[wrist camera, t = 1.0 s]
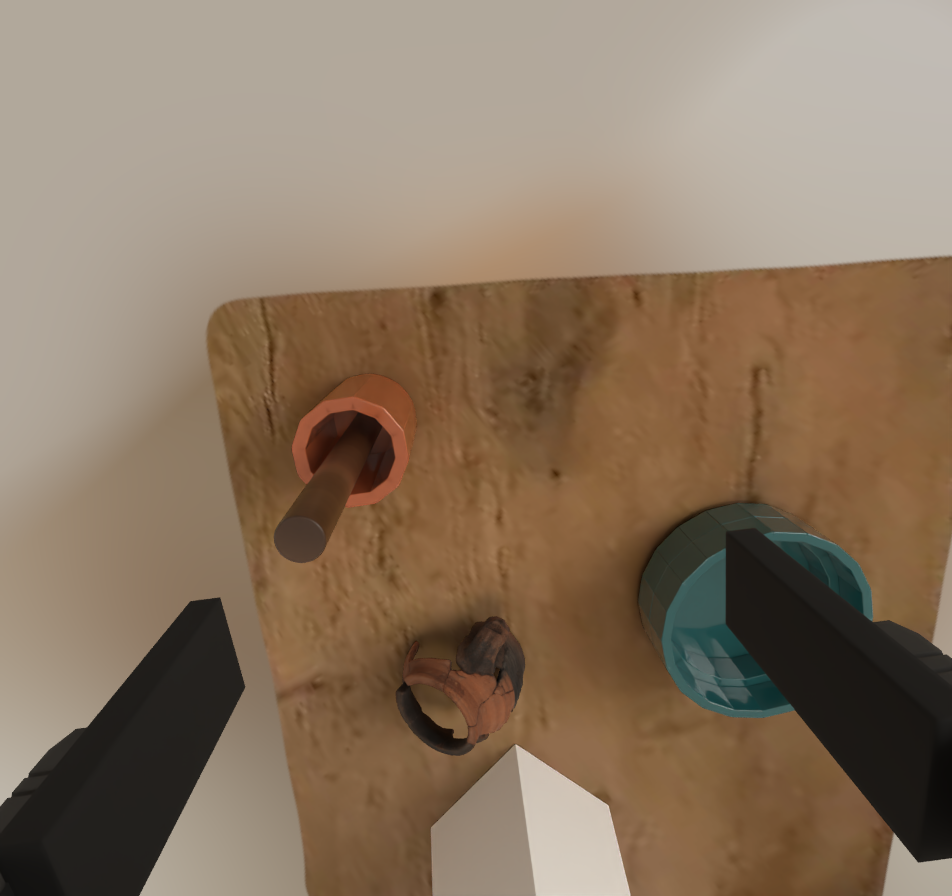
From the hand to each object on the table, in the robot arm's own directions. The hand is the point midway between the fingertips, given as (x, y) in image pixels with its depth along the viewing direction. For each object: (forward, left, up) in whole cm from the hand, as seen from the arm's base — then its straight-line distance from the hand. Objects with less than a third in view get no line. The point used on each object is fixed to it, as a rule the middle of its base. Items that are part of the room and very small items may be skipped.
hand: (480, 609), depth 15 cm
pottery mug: (+20, +8, -28) cm, 35 cm away
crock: (+4, -6, -28) cm, 29 cm away
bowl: (+7, +26, -28) cm, 39 cm away
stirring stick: (+4, -6, -27) cm, 28 cm away
